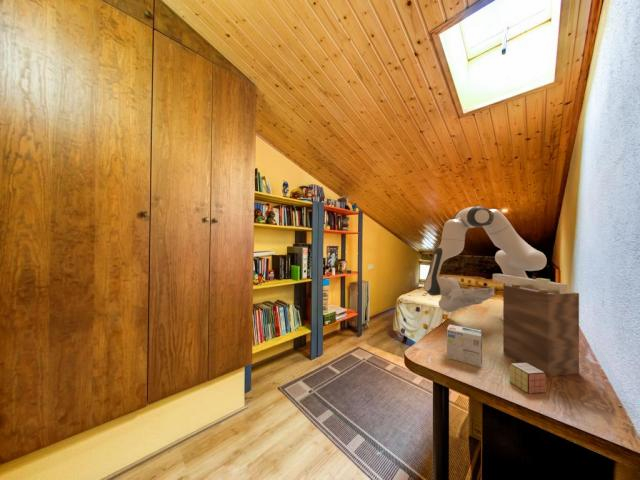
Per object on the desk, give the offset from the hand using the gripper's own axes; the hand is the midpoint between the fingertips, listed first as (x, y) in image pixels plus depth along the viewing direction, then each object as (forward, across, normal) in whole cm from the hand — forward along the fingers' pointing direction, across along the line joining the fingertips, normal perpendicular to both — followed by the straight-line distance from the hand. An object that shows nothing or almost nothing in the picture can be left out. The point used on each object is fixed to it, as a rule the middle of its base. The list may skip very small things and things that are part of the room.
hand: (483, 289), depth 103 cm
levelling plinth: (+9, 0, +30) cm, 31 cm away
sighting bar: (+18, 0, +5) cm, 19 cm away
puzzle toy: (+18, -18, +36) cm, 44 cm away
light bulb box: (+4, -24, +27) cm, 36 cm away
